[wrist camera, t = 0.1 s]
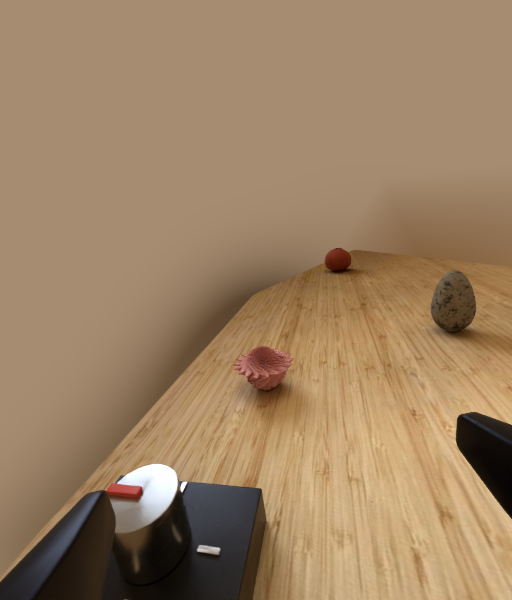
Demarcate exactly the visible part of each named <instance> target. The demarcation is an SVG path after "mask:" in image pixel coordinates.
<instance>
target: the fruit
mask: <svg viewBox="0 0 512 600" xmlns="http://www.w3.org/2000/svg"><path fill="white" fill-rule="evenodd" d="M350 264H351V257H350V254H349V253H348V252H347V251H345V250H343V249H341V248H336V249H333V250H331V251H330V252H329V253H328V254H327V255H326V257H325V265H326V267H327V268H328V269H330V270H333V271H340V270H345V269H346V268H348V267H349V265H350Z"/></svg>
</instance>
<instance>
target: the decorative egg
mask: <svg viewBox="0 0 512 600" xmlns="http://www.w3.org/2000/svg"><path fill="white" fill-rule="evenodd" d="M475 312H476V302H475V296H474V292H473V289H472V286H471V284H470V282H469V280H468V279H467V277H466V276H465V275H464V274H463V273H462V272H460V271H450V272H448V273H447V274H445V275H444V276H443V277H442V279H441V280H440V282H439V283H438V285H437V287H436V290H435V292H434V295H433V298H432V303H431V314H432V317H433V320H434V321H435V323H436V324H437V325H438V326H439V327H441V328H442V329H444V330H447V331H460V330H462V329H464V328H466V327H467V326H469V325H470V323H471V322H472V321H473V319H474V316H475Z"/></svg>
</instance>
